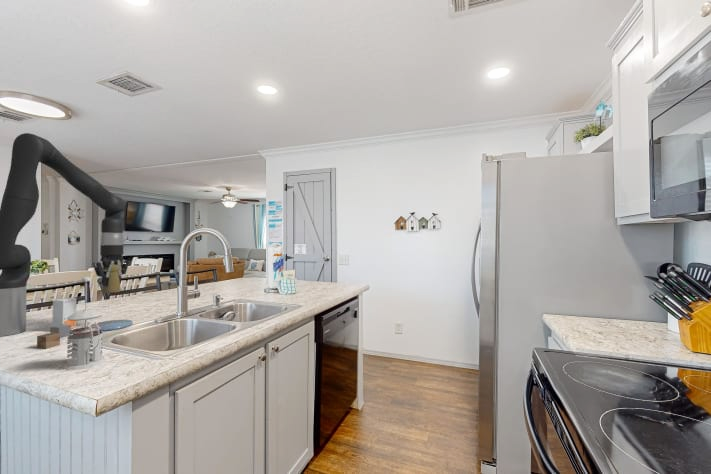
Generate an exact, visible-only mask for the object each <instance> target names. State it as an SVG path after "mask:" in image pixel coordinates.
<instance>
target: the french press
mask: <svg viewBox="0 0 711 474" xmlns="http://www.w3.org/2000/svg"><path fill="white" fill-rule="evenodd" d="M90 281H91V278H90V277H89V276H84V277H82V279H81V282H85V284H84V285H85V287H84V288H85V291H84V292H85V296H84V297H85V299H84V302H85V307H84V308H85V309H82V310H80V311H76V313H74V314H72V315H70V316H69V317H67V319H68V320H70V321H76V322H81V321H84V326H83V327H82V326H81V327H77V328H72V329H71V331H70V332H69V333H70V334H71V335H70V336H67V351H66V352H67V355H66V357H67V359H66V360H67V361H66V363H65V364H64V365H63V366H62V369H63V370H67V371H76V370H77V371H78V370H85V369H88V368H92V367H97V366H99V365H101V364H103V363H105V362H106V361H107V358H106V357H105V356H103V331H99V330H100V329H101V327H99V326H98V324H97V323H98V322H97V321H95V322H94V326H92V327H91V324H90V323H87V321H88V320H94V319H98V318H100V317H102V316H103V315H104V313H103V312H101V311H98V310H94V309H87V286H88V285H87V284H88V283H87V282H90ZM95 323H96V324H97V326H95V325H96V324H95ZM89 326H90V327H89ZM90 352H92V353H90Z"/></svg>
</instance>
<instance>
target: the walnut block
mask: <svg viewBox="0 0 711 474" xmlns="http://www.w3.org/2000/svg"><path fill="white" fill-rule="evenodd" d="M60 345H61V338H60V333H50V332H47V333H44V334H40V335H37V336H36V348H37V349H44V350H47V349H50V348H55V347H58V346H60Z"/></svg>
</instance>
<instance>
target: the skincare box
mask: <svg viewBox="0 0 711 474" xmlns="http://www.w3.org/2000/svg"><path fill="white" fill-rule="evenodd" d="M77 299H78V298H77V297H63V298H58V299H54V300H52V319H51V320H52V322H51V323H52V325H51V327H52V326H56V325H61V324H68V325H71V330H73V329H76V327H77V321H70V320H68V319H67V317H69V316H70V315H72V314H74V313H76V312H77Z"/></svg>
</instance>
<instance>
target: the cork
mask: <svg viewBox="0 0 711 474" xmlns="http://www.w3.org/2000/svg"><path fill="white" fill-rule="evenodd" d="M107 269H108V268H105V267H104V270H107ZM110 269H111V272H110V274H109V277H108V278H109V283H108V287H107V286H104V287H103V286H102V294H103V293H106V294H110V293H119V292H122V291H121V290H122V288H121V284H120V281H119V274H118V272H119V271H120V266H119V265H113V266H111V268H110Z"/></svg>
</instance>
